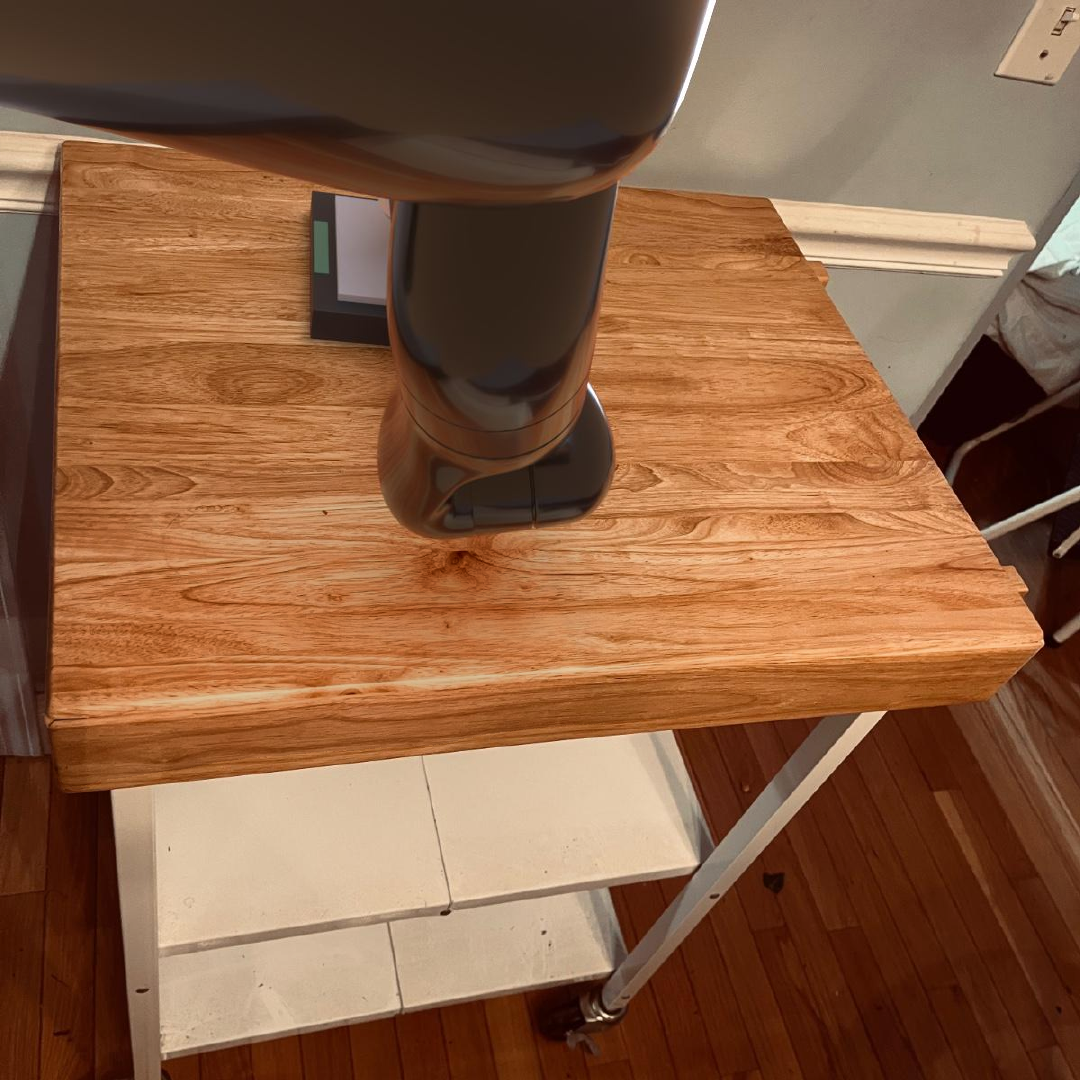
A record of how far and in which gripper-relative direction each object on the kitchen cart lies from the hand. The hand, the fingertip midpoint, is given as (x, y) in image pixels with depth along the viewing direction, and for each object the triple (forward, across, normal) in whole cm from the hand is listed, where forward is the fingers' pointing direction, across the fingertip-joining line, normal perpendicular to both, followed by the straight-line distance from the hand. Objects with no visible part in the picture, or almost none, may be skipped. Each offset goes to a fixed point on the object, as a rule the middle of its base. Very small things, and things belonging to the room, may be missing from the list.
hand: (437, 96), depth 69 cm
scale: (-2, 0, +13) cm, 14 cm away
